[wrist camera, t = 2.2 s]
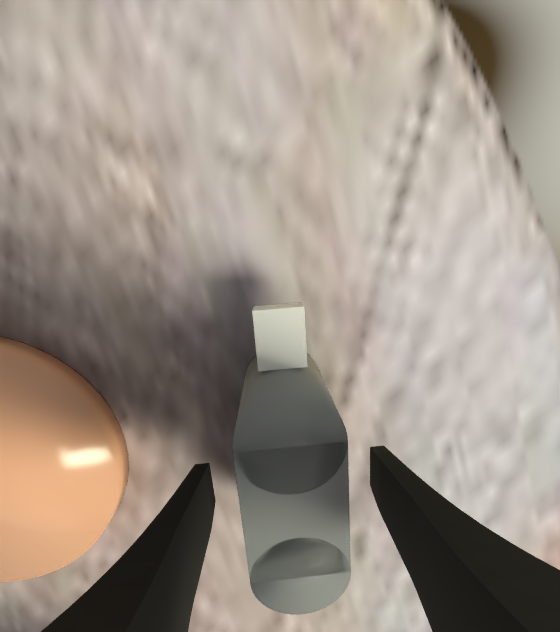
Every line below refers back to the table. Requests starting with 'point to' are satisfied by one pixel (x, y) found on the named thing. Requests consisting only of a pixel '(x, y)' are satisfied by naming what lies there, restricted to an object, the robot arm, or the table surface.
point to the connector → (291, 470)
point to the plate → (53, 463)
